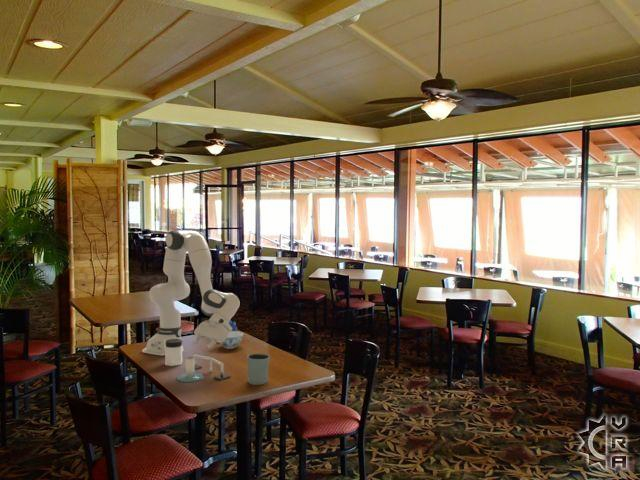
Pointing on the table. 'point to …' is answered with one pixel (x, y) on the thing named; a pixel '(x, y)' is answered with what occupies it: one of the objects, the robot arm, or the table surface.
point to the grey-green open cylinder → (257, 368)
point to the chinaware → (232, 339)
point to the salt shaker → (190, 367)
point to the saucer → (196, 378)
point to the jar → (173, 352)
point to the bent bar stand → (218, 377)
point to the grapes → (233, 325)
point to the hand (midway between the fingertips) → (201, 346)
